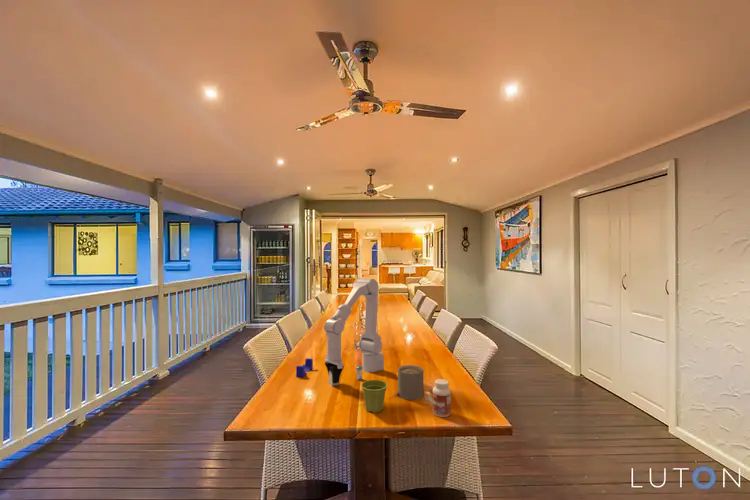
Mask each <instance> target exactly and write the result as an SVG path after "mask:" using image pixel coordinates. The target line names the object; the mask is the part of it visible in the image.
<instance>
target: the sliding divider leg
mask: <svg viewBox="0 0 750 500" xmlns="http://www.w3.org/2000/svg"><path fill="white" fill-rule="evenodd" d="M328 384H329V385H330V386H331V387H335V386H339V385H340V382H339V383H333V379H332V372H331V370H329V375H328Z"/></svg>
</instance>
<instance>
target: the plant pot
mask: <svg viewBox="0 0 750 500" xmlns="http://www.w3.org/2000/svg"><path fill="white" fill-rule="evenodd" d="M360 386H361V388H362V391H363V396H364V397H363V398H364V403H365V404H364V405H365V410H366V411H367V412H372V413H380V412H382V410H384V405H385V403H384V402H385V397H386V391H387V388H388V383H387V382H385V381H384V380H380V379H370V380H365V381H363V382H362V383H361V385H360Z"/></svg>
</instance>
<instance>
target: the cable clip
mask: <svg viewBox="0 0 750 500" xmlns="http://www.w3.org/2000/svg"><path fill="white" fill-rule="evenodd" d="M313 361H314V360H313V358H305V360H304V364H302V365H297V366H296V367H295V368H296V369H295V371H296V373H295V374H296V375H295V376H296V377H295V378H303V377H305V376H306V375H308V373H309V372H312V371H313V367H314V366H313V365H314V364H313Z"/></svg>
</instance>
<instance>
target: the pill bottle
mask: <svg viewBox="0 0 750 500" xmlns="http://www.w3.org/2000/svg"><path fill="white" fill-rule="evenodd" d="M449 385H450V384H449V381H448V380H447V379H442V378H439V379H435V380H434V386H433V388H432V414H434V416H436V417H439V418H447V417H449V416H450V415H451V407H452V406H451V404H452V402H451V395H452V394H451V389H450V387H449Z"/></svg>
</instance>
